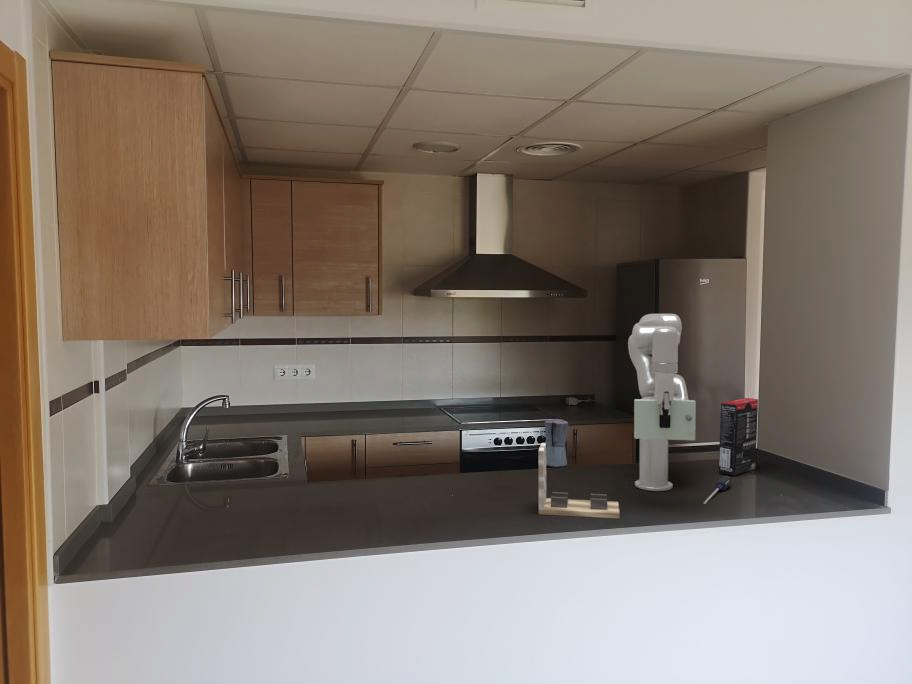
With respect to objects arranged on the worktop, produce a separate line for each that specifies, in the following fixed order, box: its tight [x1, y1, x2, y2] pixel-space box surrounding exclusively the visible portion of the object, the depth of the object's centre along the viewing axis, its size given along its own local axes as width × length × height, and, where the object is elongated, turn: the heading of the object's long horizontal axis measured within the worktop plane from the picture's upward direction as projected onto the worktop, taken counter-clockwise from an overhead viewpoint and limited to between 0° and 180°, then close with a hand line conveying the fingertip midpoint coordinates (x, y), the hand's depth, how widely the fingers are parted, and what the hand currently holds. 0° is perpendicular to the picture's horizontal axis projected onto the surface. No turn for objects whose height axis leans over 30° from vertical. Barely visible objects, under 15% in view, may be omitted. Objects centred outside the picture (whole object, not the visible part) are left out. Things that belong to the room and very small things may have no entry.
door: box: [633, 398, 697, 441], centre depth 204 cm, size 4×18×12 cm, turn 78°
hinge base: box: [537, 442, 621, 520], centre depth 204 cm, size 12×24×20 cm, turn 78°
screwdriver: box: [703, 475, 732, 505], centre depth 219 cm, size 26×4×4 cm, turn 142°
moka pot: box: [544, 414, 569, 468], centre depth 260 cm, size 10×15×20 cm, turn 164°
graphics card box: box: [718, 397, 759, 477], centre depth 247 cm, size 17×7×27 cm, turn 130°
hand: (664, 426), depth 205 cm, fingers closed on door, 2 cm apart
